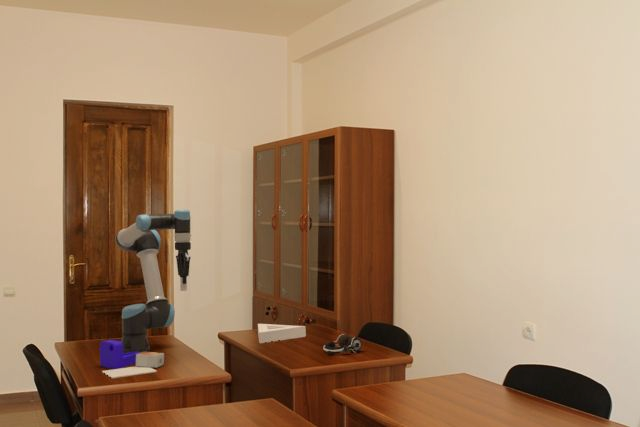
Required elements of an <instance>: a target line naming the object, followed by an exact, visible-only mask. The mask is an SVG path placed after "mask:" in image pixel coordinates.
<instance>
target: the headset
mask: <svg viewBox="0 0 640 427" xmlns="http://www.w3.org/2000/svg"><path fill="white" fill-rule="evenodd" d="M337 342H338V344H337ZM362 346H363V341H361V339H360V338H359V337H357V336H351V335H350V334H344V333H342V334H340V335H339V336H338V337H337V339H336V340H335V341H332V340H330V341H328V342H327V343H325V344H324V345H323V351H325V353H326V355H327V356H331V355H337V354H343V353H349V352H352V353H355V354H356V353H358V352H359V351H360V350H361V348H362Z"/></svg>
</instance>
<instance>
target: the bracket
mask: <svg viewBox="0 0 640 427" xmlns="http://www.w3.org/2000/svg"><path fill="white" fill-rule="evenodd" d="M138 353H140V352H130V353H123V344H122V342H121V341H119V340H114V339H109V340H103V341H101V342H100V343H99V364H100V367H101V366H104V367H103V368H107V369H111V370H113V369H120V368H127V367H128V366H131V365H133V364H136V354H138Z"/></svg>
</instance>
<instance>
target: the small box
mask: <svg viewBox="0 0 640 427" xmlns="http://www.w3.org/2000/svg"><path fill="white" fill-rule="evenodd" d="M164 362H165V353H164V352H155V351H154V352H152V351H148V352H141V353H138V354H136V363H135V366H141V367H150V368H152V369H155V368H159V367H162V366H164V365H165V363H164Z"/></svg>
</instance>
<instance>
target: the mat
mask: <svg viewBox="0 0 640 427" xmlns="http://www.w3.org/2000/svg"><path fill="white" fill-rule="evenodd" d="M101 372H102V374H104V373H105V374H104V375H106V376H107V375H108V376H107V377H109V378H110V377H111V379H119V378H126V377H132V376H138V375H145V374H146V375H147V374H152V373H158V371H157V370H156V369H155V368H153V367H141V366H136V365H135V366H129V367H128V366H126V367H122V368H118V369H108V370H102V371H101Z"/></svg>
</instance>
